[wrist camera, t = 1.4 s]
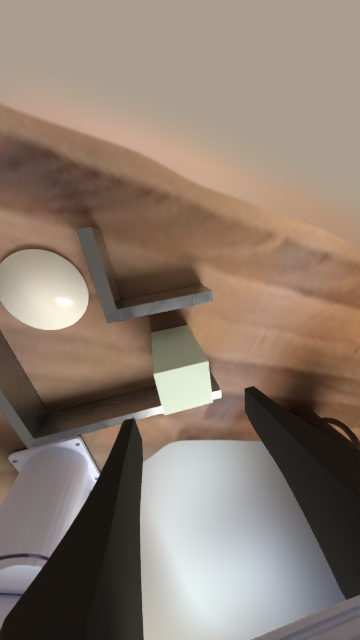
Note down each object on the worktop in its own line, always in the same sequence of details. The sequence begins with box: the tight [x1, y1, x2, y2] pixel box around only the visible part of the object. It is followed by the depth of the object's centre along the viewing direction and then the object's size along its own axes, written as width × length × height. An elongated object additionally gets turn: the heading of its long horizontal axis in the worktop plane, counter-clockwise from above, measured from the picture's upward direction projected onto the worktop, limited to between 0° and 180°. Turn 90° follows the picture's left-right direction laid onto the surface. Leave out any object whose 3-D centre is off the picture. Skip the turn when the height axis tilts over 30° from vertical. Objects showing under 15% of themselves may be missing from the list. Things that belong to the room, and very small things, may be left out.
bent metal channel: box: [0, 227, 221, 449], centre depth 17 cm, size 18×20×3 cm
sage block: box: [151, 325, 213, 415], centre depth 17 cm, size 4×4×7 cm
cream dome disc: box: [0, 249, 89, 330], centre depth 16 cm, size 7×7×1 cm
